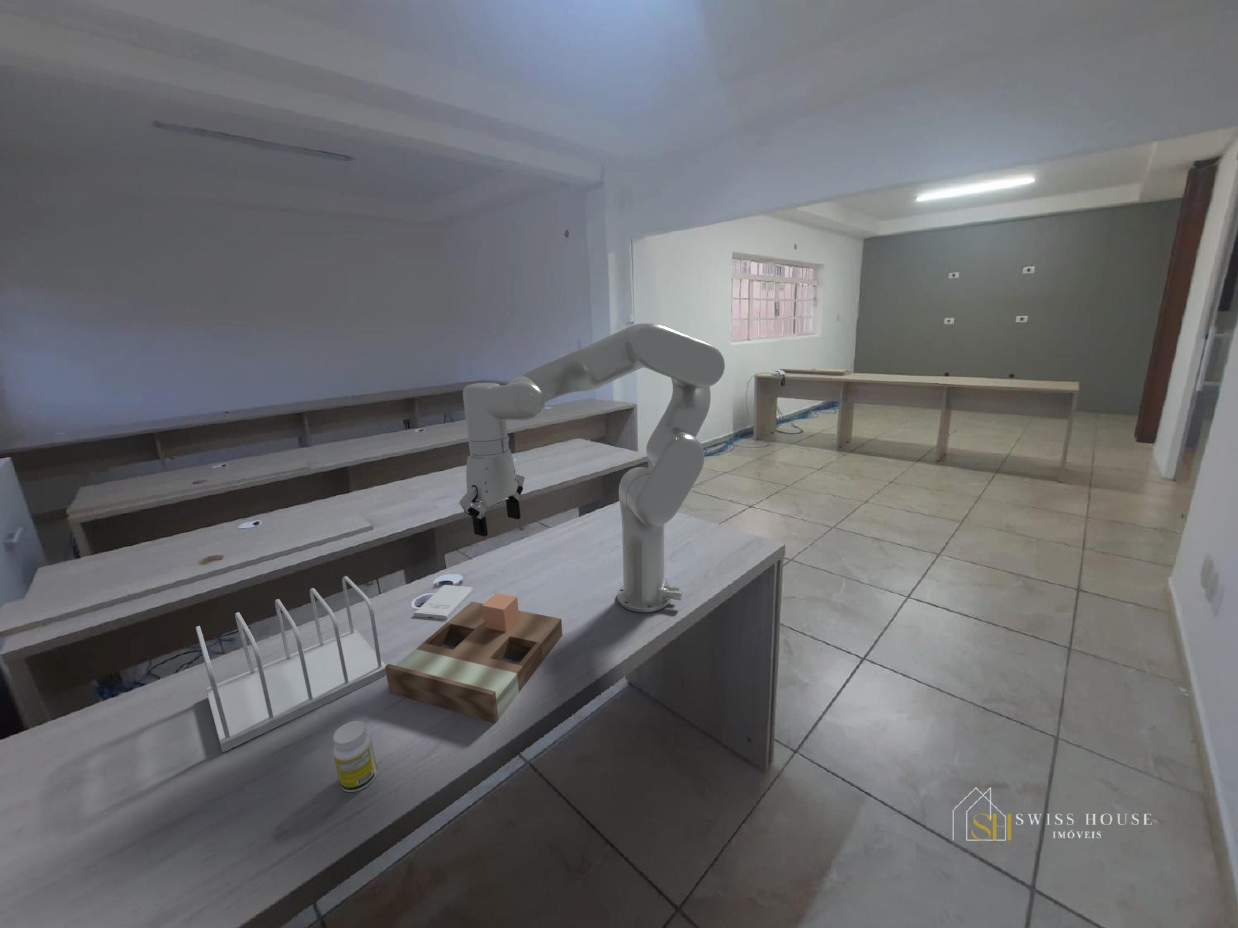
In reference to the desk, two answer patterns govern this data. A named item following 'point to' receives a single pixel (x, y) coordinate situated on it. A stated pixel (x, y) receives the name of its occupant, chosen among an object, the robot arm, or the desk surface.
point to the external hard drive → (444, 602)
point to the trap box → (475, 663)
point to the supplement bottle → (354, 756)
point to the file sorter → (291, 677)
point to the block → (500, 612)
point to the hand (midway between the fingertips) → (498, 526)
